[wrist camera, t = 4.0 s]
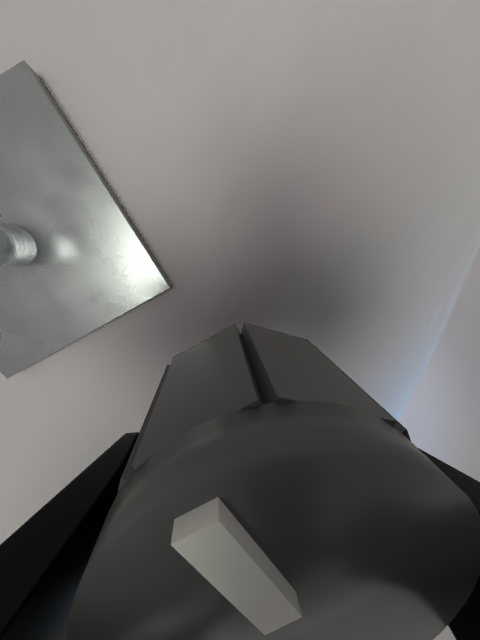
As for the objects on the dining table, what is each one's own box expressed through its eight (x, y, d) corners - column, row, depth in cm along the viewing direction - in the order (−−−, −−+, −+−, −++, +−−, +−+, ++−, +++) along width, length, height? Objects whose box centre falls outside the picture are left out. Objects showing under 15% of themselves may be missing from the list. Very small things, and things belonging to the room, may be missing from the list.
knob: (355, 430, 9) (523, 640, 4) (214, 502, 9) (215, 780, 4) (291, 289, 7) (465, 370, 2) (115, 385, 8) (-81, 650, 2)
